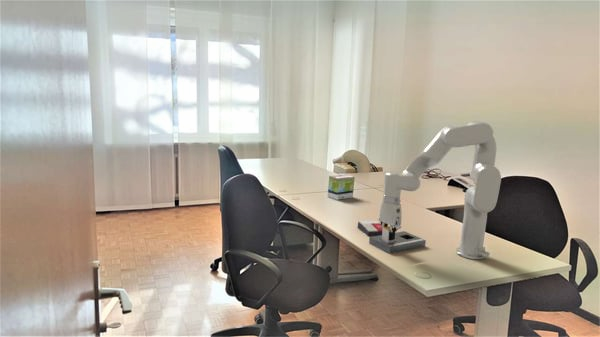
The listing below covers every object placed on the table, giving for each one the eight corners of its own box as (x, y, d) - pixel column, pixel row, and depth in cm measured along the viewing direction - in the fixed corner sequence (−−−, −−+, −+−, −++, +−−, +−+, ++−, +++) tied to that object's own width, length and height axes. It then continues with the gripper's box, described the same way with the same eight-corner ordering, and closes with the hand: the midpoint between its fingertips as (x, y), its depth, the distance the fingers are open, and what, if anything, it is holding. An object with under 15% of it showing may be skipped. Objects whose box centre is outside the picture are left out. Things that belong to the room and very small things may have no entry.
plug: (393, 245, 193) (395, 228, 192) (387, 246, 191) (388, 229, 190) (388, 242, 197) (389, 226, 195) (381, 243, 195) (382, 227, 193)
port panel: (425, 247, 197) (425, 240, 196) (389, 254, 186) (390, 246, 185) (403, 237, 209) (404, 230, 208) (369, 244, 198) (369, 236, 197)
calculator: (368, 230, 207) (357, 220, 221) (367, 239, 208) (357, 227, 222) (389, 230, 209) (377, 219, 224) (388, 238, 210) (376, 227, 225)
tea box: (337, 200, 276) (338, 178, 274) (327, 197, 284) (328, 175, 281) (353, 197, 286) (355, 176, 283) (343, 194, 293) (344, 173, 291)
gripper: (410, 203, 185) (407, 243, 188) (385, 194, 199) (382, 231, 203) (398, 205, 181) (394, 245, 185) (373, 196, 195) (370, 233, 199)
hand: (388, 237), depth 194 cm, fingers closed on plug, 3 cm apart
